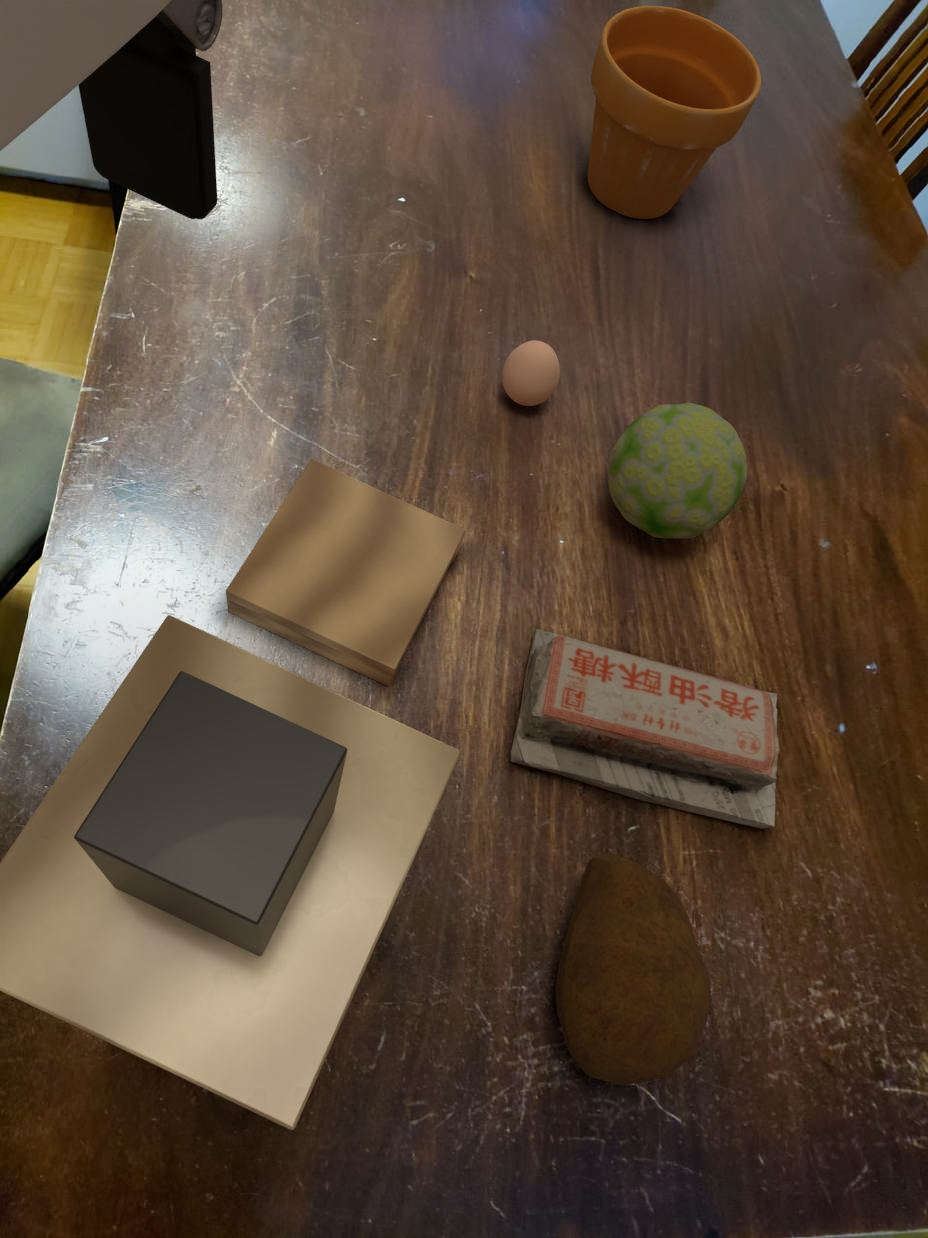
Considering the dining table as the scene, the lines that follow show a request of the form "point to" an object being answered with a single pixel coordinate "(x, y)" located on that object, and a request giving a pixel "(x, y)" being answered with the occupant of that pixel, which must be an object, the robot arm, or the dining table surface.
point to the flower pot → (663, 105)
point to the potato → (630, 976)
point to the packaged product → (649, 730)
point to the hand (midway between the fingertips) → (39, 311)
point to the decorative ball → (677, 470)
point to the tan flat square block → (345, 571)
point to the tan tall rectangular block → (189, 956)
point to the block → (215, 812)
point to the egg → (531, 373)
